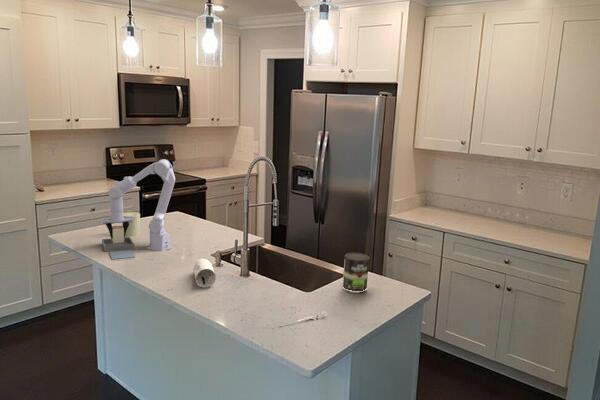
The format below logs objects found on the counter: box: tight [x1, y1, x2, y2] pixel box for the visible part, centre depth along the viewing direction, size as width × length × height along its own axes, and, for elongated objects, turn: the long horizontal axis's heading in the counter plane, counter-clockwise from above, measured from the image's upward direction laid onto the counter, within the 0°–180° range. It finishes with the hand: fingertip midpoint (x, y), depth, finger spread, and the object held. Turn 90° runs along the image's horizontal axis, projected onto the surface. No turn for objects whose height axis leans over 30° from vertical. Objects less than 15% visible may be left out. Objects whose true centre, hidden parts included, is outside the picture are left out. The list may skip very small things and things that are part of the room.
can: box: [121, 211, 141, 237], centre depth 253 cm, size 9×9×12 cm
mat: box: [108, 250, 136, 262], centre depth 221 cm, size 10×10×1 cm
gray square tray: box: [101, 236, 136, 253], centre depth 233 cm, size 13×13×3 cm
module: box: [112, 225, 124, 243], centre depth 232 cm, size 5×5×7 cm
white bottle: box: [193, 257, 217, 288], centre depth 199 cm, size 8×19×8 cm, turn 17°
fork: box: [297, 310, 329, 321], centre depth 167 cm, size 3×20×2 cm, turn 121°
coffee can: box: [342, 252, 370, 291], centre depth 197 cm, size 10×10×14 cm
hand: (117, 237), depth 232 cm, fingers closed on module, 5 cm apart
